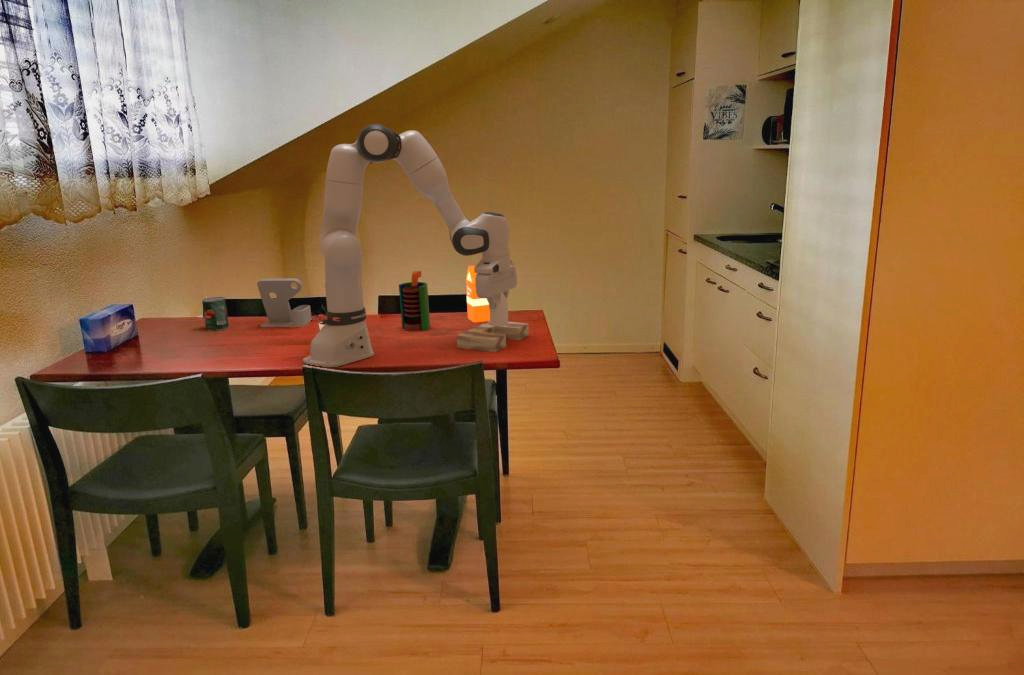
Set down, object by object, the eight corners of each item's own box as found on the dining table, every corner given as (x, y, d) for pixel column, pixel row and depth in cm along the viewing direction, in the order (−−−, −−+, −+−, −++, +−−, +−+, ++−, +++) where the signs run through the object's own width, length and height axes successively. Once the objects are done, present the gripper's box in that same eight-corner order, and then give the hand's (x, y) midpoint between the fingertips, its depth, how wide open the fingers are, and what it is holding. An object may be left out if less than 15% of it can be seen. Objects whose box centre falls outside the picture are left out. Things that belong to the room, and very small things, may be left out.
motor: (397, 330, 257) (393, 274, 252) (409, 324, 265) (405, 269, 260) (424, 331, 254) (420, 274, 249) (434, 325, 262) (431, 270, 257)
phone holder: (314, 321, 275) (309, 273, 270) (303, 327, 265) (298, 279, 260) (271, 321, 277) (265, 274, 273) (258, 327, 268) (252, 279, 263)
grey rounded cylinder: (487, 290, 231) (488, 286, 236) (489, 326, 234) (490, 322, 239) (506, 289, 230) (507, 285, 236) (508, 326, 233) (509, 321, 239)
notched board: (495, 352, 226) (494, 339, 225) (457, 347, 233) (456, 335, 232) (528, 335, 244) (528, 323, 243) (492, 331, 251) (492, 320, 250)
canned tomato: (201, 330, 266) (197, 301, 263) (214, 325, 273) (210, 296, 270) (220, 331, 264) (216, 301, 261) (233, 326, 271) (229, 297, 269)
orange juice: (467, 318, 271) (464, 264, 266) (489, 315, 274) (487, 262, 269) (473, 322, 264) (471, 267, 259) (496, 320, 267) (494, 265, 262)
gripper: (504, 258, 241) (505, 299, 245) (470, 268, 224) (473, 312, 228) (520, 259, 238) (522, 300, 242) (488, 269, 221) (490, 314, 225)
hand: (498, 306), depth 235 cm, fingers closed on grey rounded cylinder, 5 cm apart
